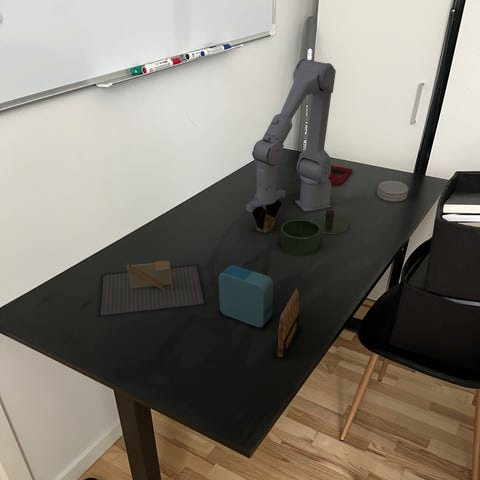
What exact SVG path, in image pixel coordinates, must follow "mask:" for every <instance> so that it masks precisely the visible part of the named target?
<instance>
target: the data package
mask: <svg viewBox="0 0 480 480" xmlns="http://www.w3.org/2000/svg"><path fill="white" fill-rule="evenodd" d="M218 295H219V310H220V312H221V314H222V315H224V316H226V317H229V318H232V319H233V320H237V321H240V322H242V323H245V324H248V325H249V326H253V327H256V328H262V327H264V325H265V324H266V323H267V322H268V321H269V320H270V319H271V317H272V316H273V301H274V299H273V297H274V281H273V278H271V276H269V275H266V274H263V273H260V272H256V271H253V270H250V269H247V268H245V267H240V266H237V265H234V264H229V266H227V268H225V269H224V270H223V271H222V272H221V273H219V274H218Z"/></svg>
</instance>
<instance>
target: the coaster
mask: <svg viewBox="0 0 480 480" xmlns="http://www.w3.org/2000/svg"><path fill="white" fill-rule="evenodd" d="M376 191H377V192H376V196H377V197H378V198H379V199H381V200H383V201H386V202H391V203H393V202H394V203H398V202H399V203H400V202H402V201H404V200H406V199H407V198H408V194H409V192H408V191H409V186H408V185H407V184H405V183H404V182H402V181H398V180H383V181H381V182H380V183H378V185H377V190H376Z"/></svg>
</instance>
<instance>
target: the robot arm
mask: <svg viewBox="0 0 480 480" xmlns="http://www.w3.org/2000/svg"><path fill="white" fill-rule="evenodd" d="M336 73H337V70H336V68H335V67H334V65H333V64H332V63H330V62H321V61H315V60H311V59H308V58H301V59H300V60H298V62H297V63H296V65H295V68H294V70H293V72H292V81H293V83H292V85H291V88H290V90H289V92H288V94H287V97H286V99H285V101H284V104H283V106H282V108H281V111H280V113H277V114H275V115H273V117H272V120H271V121H270V123H269V125H268V127H267V129H266V131H265V133H264V134H263V136H262V139H259V140H257V141H256V142H255V144H254V145H253V147H252V148H253V149H252V151H251V155H252V158H253V159H254V165H255V167H256V187H255V188H256V190H255V194H254V197H253V199H252V200H251V201H249V202H248V203H246V205H245V210H246V211H247V212H249V213H251V214H252V215H253V218H254V221H255V226H256V225H257V228H259V229H261V230H262V229H263V228H264V221H265V216H266V214H267V215H269V216H271V217H274V218H275V219H276V217H277V214H278V212H279V210H280V209H281V207H282V206H283V202H282V201H281V200H279V199H280V198H281V199H282V198H286V197H285V196H286V191H285V190H284V189H282V188H280V189H277V175H278V163H279V162H280V160H281V159H282V157H283V150H284V148H285V147H284V146H285V144H284V143H285V141H286V139H287V137H288V136H289V134H290V132H291V130H292V128H293V121H292V120H293V118H294V116H295V114H296V113H297V111H298V110H299V108H300V107H301V105H302V103H303V102H304V100H305V99H306V97H307V96H308V95H312V98H311V106H310V115H309V125H308V134H307V142H306V149H304V150H303V151H301V152H300V153H299V158H298V161H297V163H296V166H295V167H296V174H297V175H298V176H299V179H300V193H299V194H300V195H299V199H296V200H295V201H294V202H295V203H296V204H297V205H298V206H299V207H300V208H301V209H302V210H303V211H304V212H309V211H314V210H315V211H316V210H319V209H320V210H321V209H325V208H326V209H327V208H330V207H332V206H331V196H332V185H331V182H330V180H329V179H328V178H329V176H330V173H331V159H332V157H331V156H330V155H329V154H328V152H327V151H326V150H325V145H326V138H327V130H328V122H329V115H330V107H331V100H332V94H333V93H334V89H335V88H334V87H335V80H336ZM264 206H265V209H264ZM261 230H260V231H261Z"/></svg>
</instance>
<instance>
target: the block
mask: <svg viewBox="0 0 480 480" xmlns="http://www.w3.org/2000/svg"><path fill="white" fill-rule="evenodd" d="M275 223H276V217H275V218H274V217H271V216H269V215H267V213H266V216H265V221H264V228H263V229H262V230H261V229H259V228H257V225H256V224H255V230H256V231H257V232H259V233H262V232H264V233H268V232H270V231H272V230H274V229H275V226H276V224H275Z"/></svg>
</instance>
